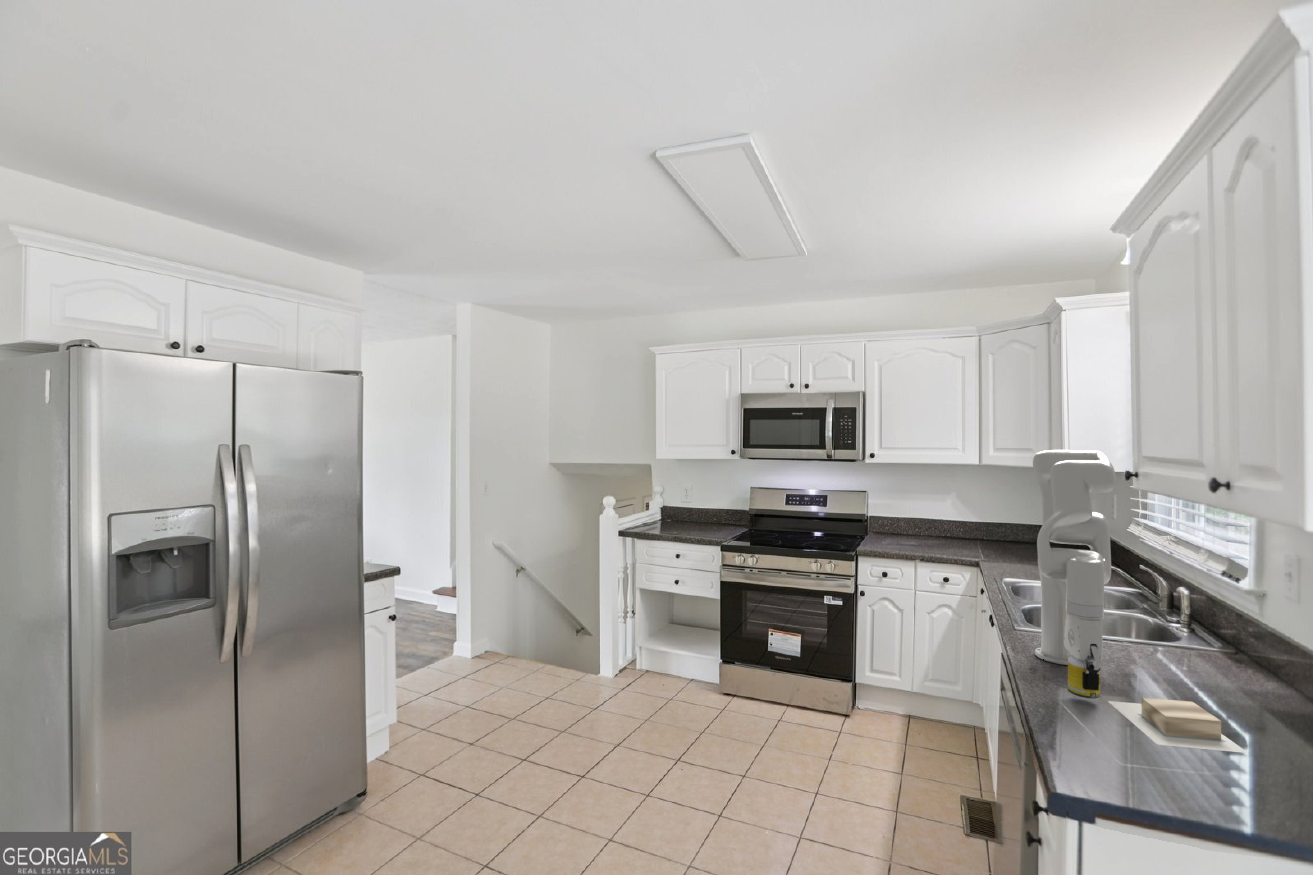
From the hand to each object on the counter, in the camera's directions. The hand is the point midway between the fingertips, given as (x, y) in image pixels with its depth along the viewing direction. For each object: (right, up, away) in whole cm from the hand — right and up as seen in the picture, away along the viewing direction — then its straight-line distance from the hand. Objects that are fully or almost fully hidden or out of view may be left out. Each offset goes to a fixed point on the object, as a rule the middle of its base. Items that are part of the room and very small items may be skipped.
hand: (1083, 682), depth 152 cm
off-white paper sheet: (+11, -5, -12) cm, 17 cm away
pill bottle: (0, -3, 0) cm, 3 cm away
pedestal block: (+12, -5, -13) cm, 18 cm away
